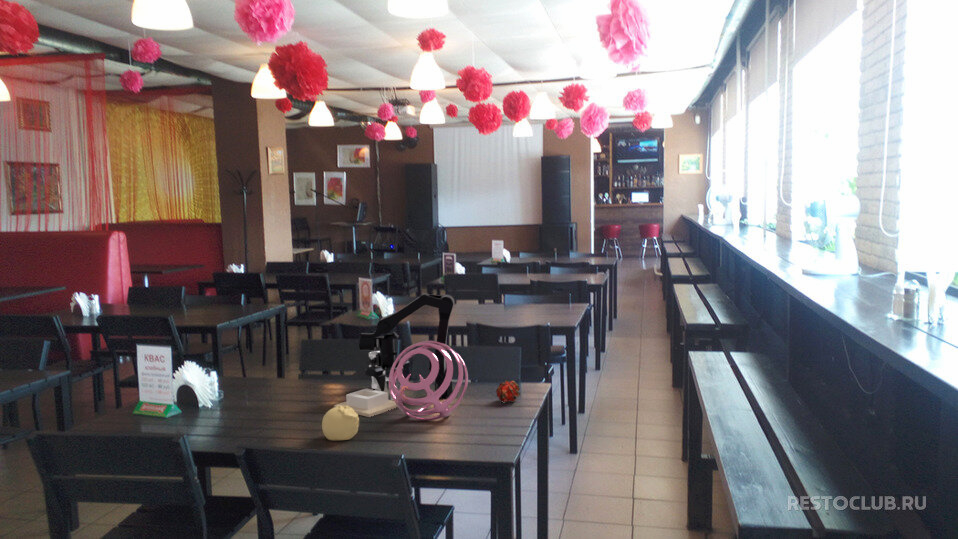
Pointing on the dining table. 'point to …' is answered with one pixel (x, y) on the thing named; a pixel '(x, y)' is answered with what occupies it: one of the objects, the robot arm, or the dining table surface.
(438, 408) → the pink openwork sphere
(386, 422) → the dining table surface
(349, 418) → the sculpture
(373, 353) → the beer glass
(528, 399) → the dining table surface
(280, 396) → the dining table surface
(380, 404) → the cream square frame
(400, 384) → the grey wooden block
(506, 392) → the dragon fruit
